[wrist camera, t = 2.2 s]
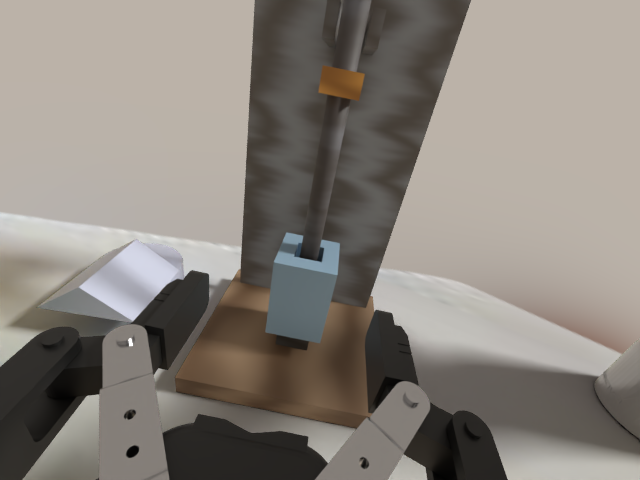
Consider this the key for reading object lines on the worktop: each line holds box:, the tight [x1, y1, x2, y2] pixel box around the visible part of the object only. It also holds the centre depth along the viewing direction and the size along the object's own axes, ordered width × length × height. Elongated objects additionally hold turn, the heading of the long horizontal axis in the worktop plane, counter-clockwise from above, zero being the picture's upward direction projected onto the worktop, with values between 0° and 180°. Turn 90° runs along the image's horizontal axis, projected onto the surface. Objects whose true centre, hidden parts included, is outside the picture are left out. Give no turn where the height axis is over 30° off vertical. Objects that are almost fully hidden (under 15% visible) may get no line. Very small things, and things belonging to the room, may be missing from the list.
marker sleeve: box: [265, 232, 340, 343], centre depth 28 cm, size 5×5×8 cm
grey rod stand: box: [175, 0, 471, 428], centre depth 24 cm, size 18×16×35 cm
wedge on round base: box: [36, 239, 184, 323], centre depth 33 cm, size 9×7×13 cm
